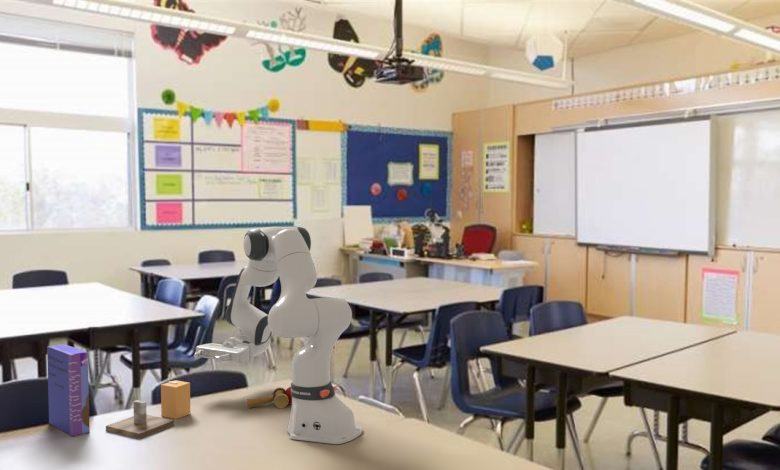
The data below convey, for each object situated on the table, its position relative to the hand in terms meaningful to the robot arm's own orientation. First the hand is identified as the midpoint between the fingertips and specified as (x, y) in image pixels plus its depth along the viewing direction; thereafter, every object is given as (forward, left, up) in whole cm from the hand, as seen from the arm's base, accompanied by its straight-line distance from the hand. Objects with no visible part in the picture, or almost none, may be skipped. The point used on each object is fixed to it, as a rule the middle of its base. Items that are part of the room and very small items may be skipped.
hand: (206, 357), depth 219 cm
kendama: (-22, -9, -16) cm, 28 cm away
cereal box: (+19, +38, -16) cm, 45 cm away
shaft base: (0, +28, -15) cm, 32 cm away
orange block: (0, +14, -15) cm, 21 cm away
